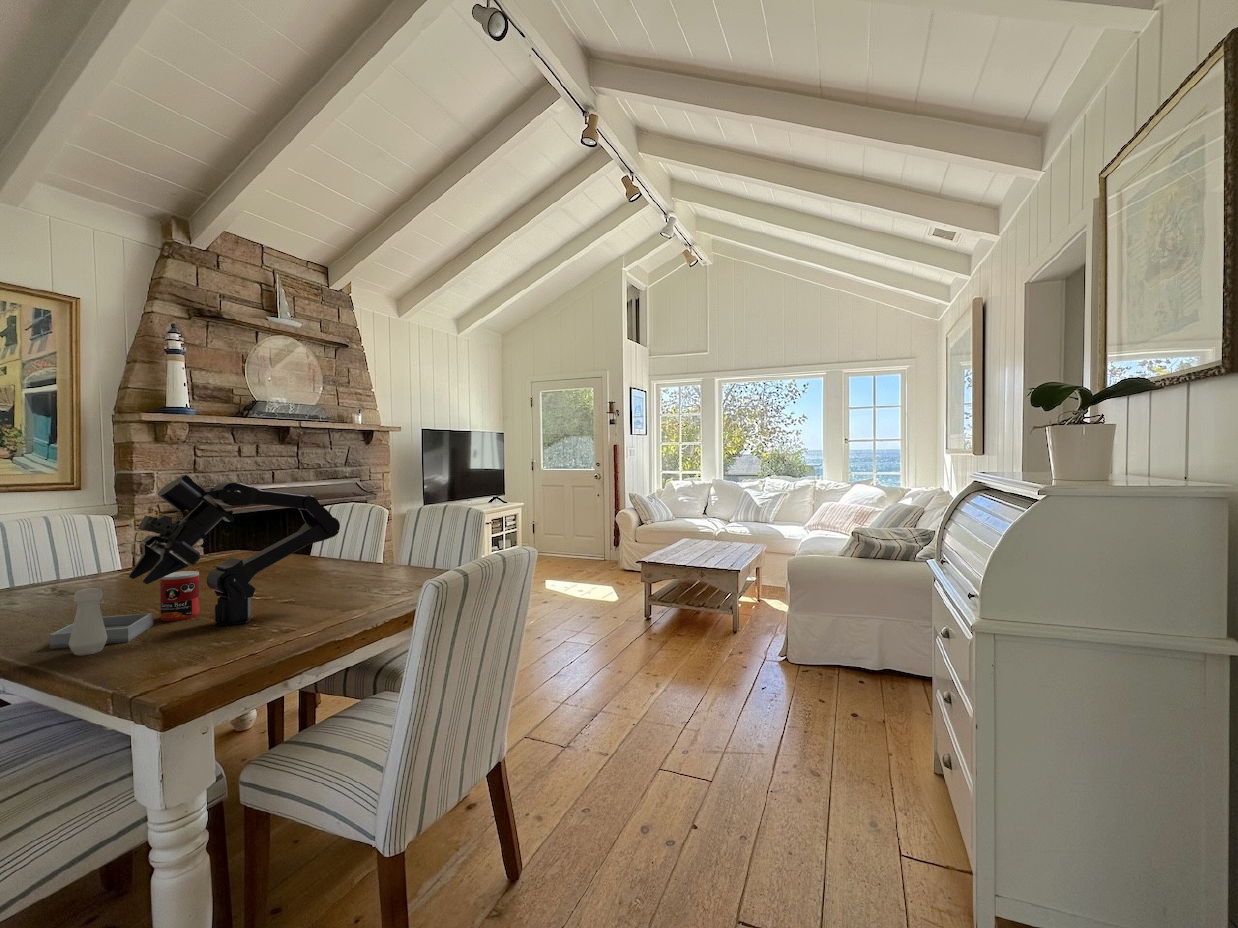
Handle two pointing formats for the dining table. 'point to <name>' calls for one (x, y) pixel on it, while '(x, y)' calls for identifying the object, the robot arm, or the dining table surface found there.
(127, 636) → the tray
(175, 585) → the canned food
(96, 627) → the salt shaker
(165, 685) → the dining table surface
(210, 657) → the dining table surface
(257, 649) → the dining table surface
